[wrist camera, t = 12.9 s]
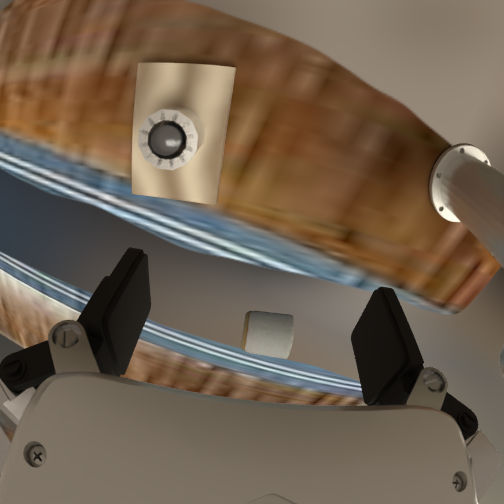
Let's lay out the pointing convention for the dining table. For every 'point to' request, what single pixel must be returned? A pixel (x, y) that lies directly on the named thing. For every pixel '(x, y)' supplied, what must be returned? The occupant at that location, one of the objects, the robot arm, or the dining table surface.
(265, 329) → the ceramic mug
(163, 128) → the dark domed cylinder
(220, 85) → the block
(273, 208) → the dining table surface
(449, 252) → the dining table surface
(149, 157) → the ring
